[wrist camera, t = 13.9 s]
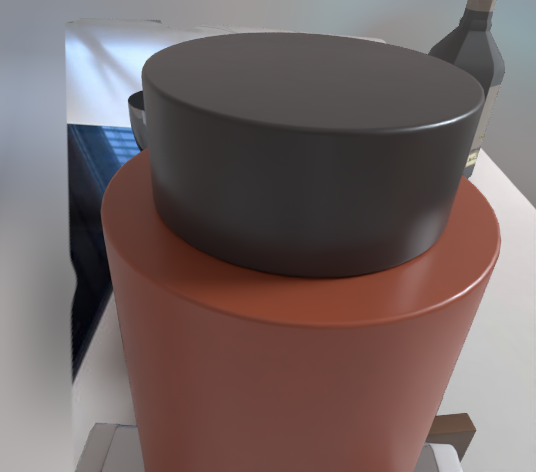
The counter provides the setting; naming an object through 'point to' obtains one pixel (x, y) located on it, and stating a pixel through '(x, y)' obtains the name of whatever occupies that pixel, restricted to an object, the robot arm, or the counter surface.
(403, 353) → the pepper mill
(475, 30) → the liquor
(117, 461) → the robot arm
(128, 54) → the counter surface
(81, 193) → the counter surface
